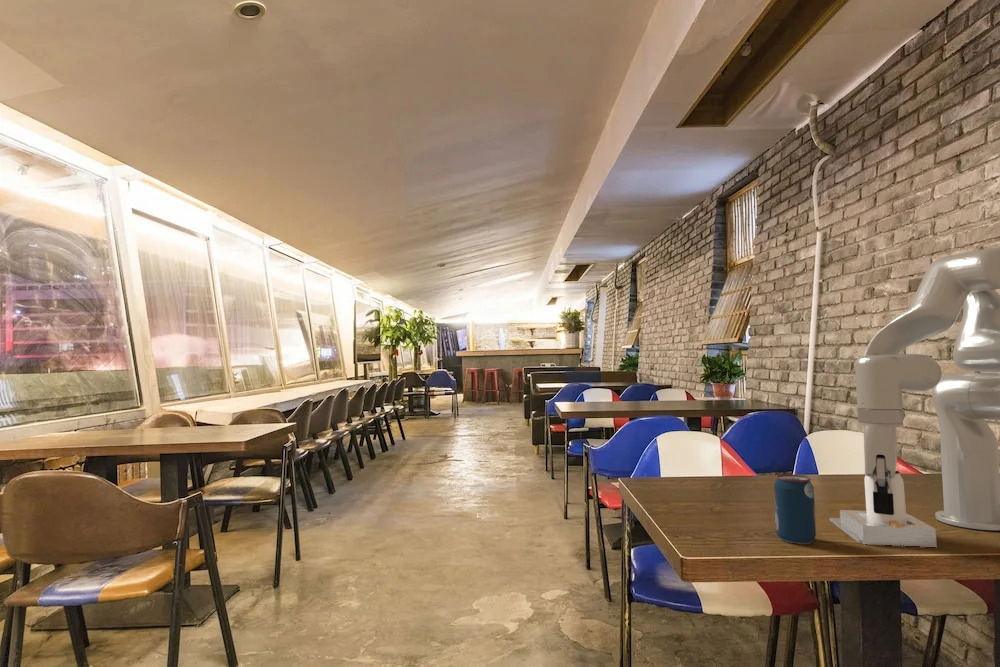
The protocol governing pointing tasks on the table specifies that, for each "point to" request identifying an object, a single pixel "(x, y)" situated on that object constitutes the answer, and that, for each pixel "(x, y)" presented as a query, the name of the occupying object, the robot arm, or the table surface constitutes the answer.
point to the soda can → (794, 509)
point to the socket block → (886, 530)
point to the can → (898, 501)
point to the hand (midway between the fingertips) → (884, 509)
